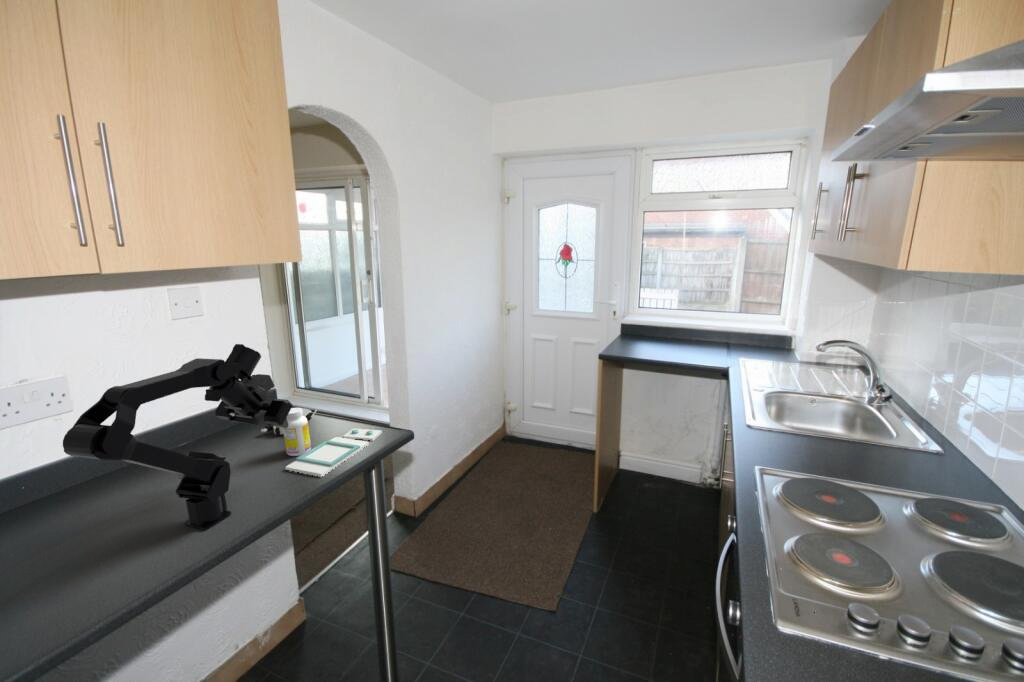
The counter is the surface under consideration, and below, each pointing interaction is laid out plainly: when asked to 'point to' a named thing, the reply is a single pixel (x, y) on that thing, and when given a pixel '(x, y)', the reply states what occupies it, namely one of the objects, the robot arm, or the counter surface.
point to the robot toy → (279, 430)
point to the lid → (363, 434)
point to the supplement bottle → (297, 433)
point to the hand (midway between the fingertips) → (272, 424)
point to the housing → (326, 456)
